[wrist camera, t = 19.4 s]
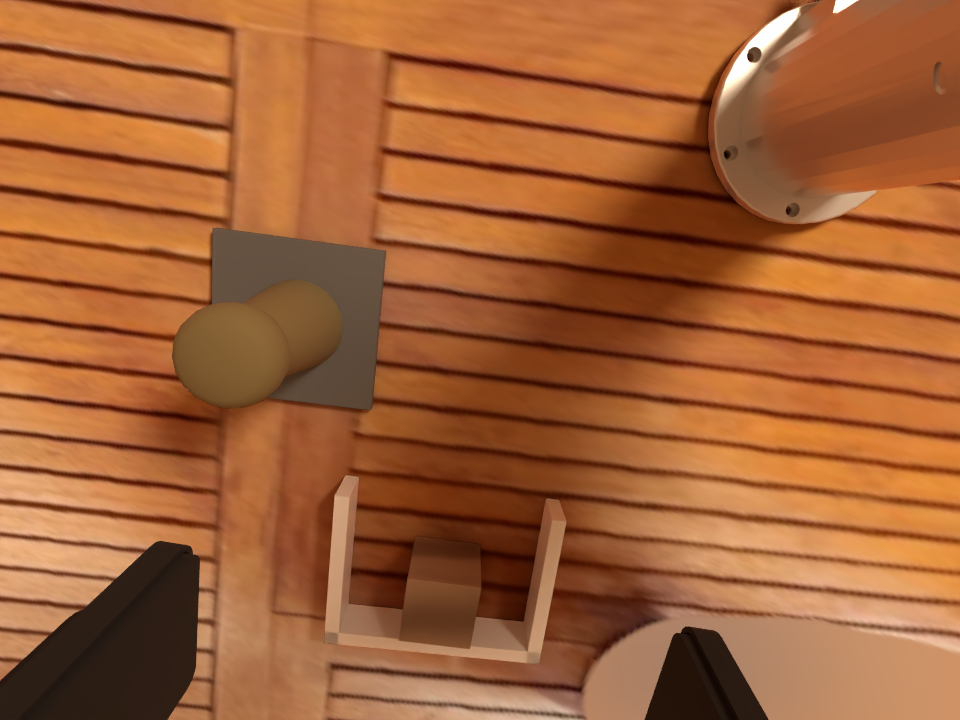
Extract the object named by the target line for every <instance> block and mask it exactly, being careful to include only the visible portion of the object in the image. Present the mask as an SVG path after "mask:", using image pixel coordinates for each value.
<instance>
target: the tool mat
mask: <svg viewBox="0 0 960 720" xmlns="http://www.w3.org/2000/svg"><path fill="white" fill-rule="evenodd" d="M385 257H386V251H383V250H376V249H368V248H361V247H354V246H346V245H339V244H332V243H324V242H317V241H310V240H302V239H295V238H288V237H280V236H273V235H265V234H258V233H251V232H243V231H236V230H229V229H221V228H213V240H212V304H216V303H227V302H237V303H244V302H245V301H247V300H249V299H250V298H252V297H253V296H255V295H257V294H258V293H260V292H261V291H263V290H265V289H266V288H268V287H269V286H271V285H274V284H276V283H278V282H281V281H283V280H295V279H299V280H303V281H307V282H311V283H313V284H315V285H317V286H318V287H320V288H322V289H323V290H325V291H326V292H327V293H328V294H329V295H330V296H331V298H332V299H333V300H334V301H335V303H336V305H337V307H338V309H339V311H340V313H341V317H342V324H343V331H342V337H341V342H340V344H339V345H338V347H337V349H336V351H335V352H334V354H333V355H331V356H330V357H329V358H328V359H327V360H326V361H325V362H323V363H320V364H318V365H315V366H313V367H310V368H308V369H305V370H302V371H299V372H296V373H293V374H291V375H288V376H285V377H284V379H283V381H282V383H281V385H280V386H279V387H278V388H277V389H276V390H275V391H274V392H273V393H272V394H270V395H269V396H268V397H267V398H273V399H282V400H290V401H298V402H307V403H315V404H323V405H331V406H340V407H348V408H356V409H364V410H371V409H372V404H373V393H374V381H375V370H376V359H377V347H378V336H379V325H380V314H381V302H382V291H383V280H384V268H385Z"/></svg>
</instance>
